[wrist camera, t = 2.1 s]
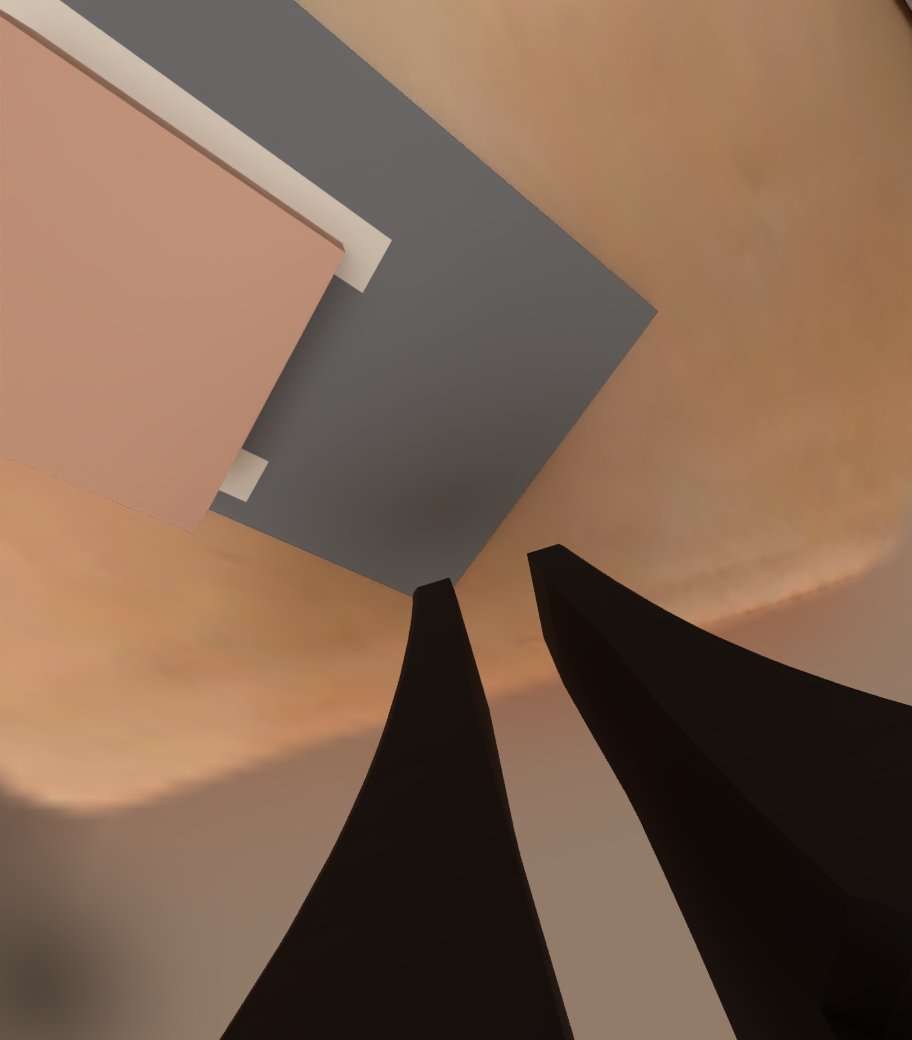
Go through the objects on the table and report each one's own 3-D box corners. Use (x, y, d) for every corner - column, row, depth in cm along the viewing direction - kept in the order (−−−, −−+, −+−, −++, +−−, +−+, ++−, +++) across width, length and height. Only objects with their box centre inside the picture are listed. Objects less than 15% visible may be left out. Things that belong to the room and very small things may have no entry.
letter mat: (653, 309, 17) (658, 311, 17) (436, 602, 20) (438, 608, 20) (-57, -294, 10) (-70, -310, 9) (-197, 327, 13) (-210, 330, 13)
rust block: (342, 243, 14) (345, 252, 11) (224, 466, 16) (194, 534, 13) (32, 28, 11) (-101, -54, 8) (-62, 333, 13) (-199, 374, 10)
